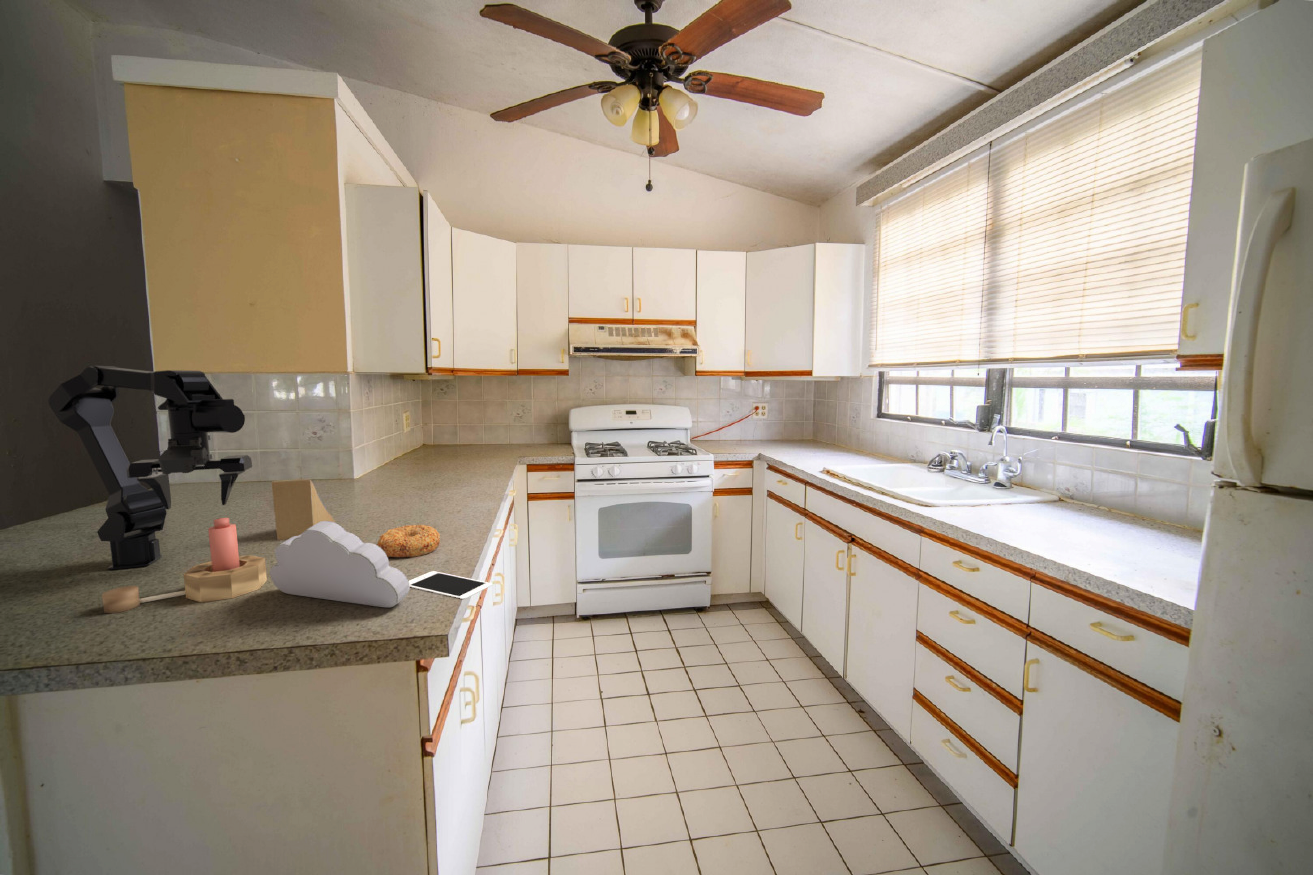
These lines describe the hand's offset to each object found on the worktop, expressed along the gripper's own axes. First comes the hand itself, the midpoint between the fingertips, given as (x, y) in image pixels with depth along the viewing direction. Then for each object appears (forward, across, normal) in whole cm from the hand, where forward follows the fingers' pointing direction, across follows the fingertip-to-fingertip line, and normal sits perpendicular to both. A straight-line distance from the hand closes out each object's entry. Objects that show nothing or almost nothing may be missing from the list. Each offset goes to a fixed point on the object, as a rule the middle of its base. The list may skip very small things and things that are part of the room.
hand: (196, 506), depth 109 cm
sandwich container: (+13, +14, +23) cm, 30 cm away
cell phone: (+14, +47, -30) cm, 57 cm away
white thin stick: (+13, 0, -17) cm, 21 cm away
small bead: (+13, -5, -19) cm, 24 cm away
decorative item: (+13, +30, -29) cm, 44 cm away
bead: (+13, +9, -16) cm, 22 cm away
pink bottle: (+13, +9, -16) cm, 22 cm away
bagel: (+14, +40, -4) cm, 42 cm away
